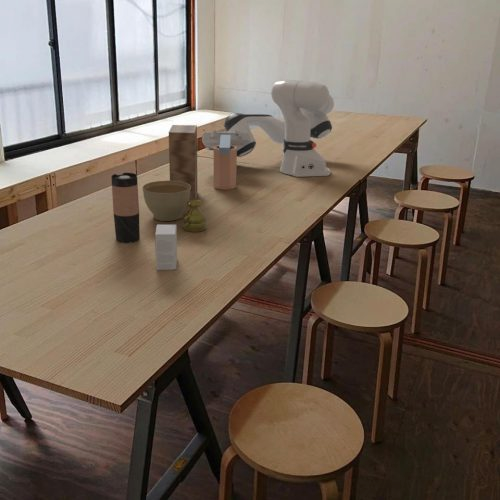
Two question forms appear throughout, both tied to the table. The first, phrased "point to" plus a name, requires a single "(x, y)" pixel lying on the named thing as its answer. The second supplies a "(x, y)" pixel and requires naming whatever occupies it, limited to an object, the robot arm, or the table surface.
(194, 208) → the olive green tiered figure
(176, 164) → the stand
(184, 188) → the planter bowl
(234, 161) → the crock
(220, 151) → the lid slat
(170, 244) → the small box
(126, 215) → the travel mug
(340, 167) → the table surface
